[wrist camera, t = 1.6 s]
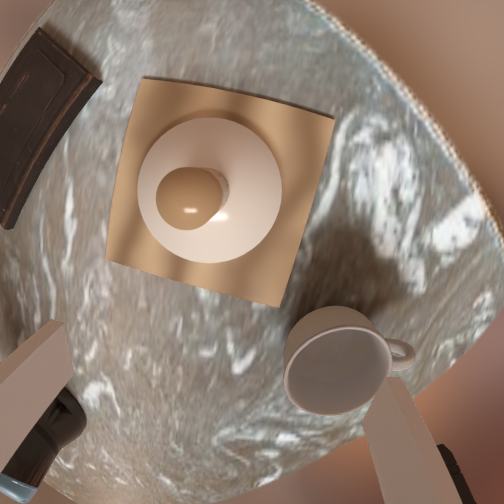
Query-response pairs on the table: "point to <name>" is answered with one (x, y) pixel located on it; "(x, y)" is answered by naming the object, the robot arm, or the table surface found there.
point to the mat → (291, 172)
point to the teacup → (338, 361)
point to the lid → (209, 190)
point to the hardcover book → (36, 115)
